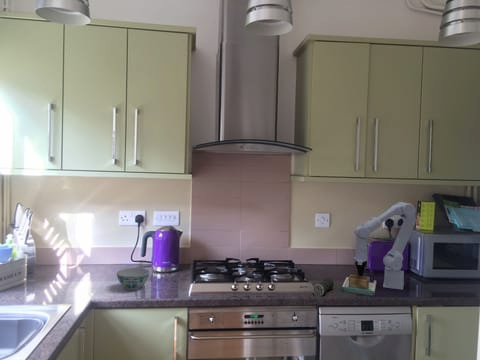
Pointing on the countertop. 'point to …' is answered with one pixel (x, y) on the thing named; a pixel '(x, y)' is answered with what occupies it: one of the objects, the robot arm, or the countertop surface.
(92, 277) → the countertop surface
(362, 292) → the tray
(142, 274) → the chinaware
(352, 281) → the crate
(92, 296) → the countertop surface
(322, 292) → the flashlight
